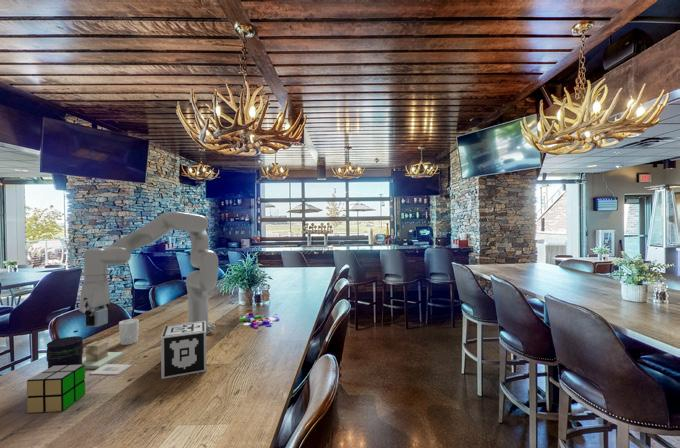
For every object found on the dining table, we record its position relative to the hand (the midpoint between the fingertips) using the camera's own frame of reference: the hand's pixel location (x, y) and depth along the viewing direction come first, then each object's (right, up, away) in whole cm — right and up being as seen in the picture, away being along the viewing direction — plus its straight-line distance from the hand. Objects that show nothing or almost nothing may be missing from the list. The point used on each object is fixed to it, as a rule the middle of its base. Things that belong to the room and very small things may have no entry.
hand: (96, 323), depth 131 cm
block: (+39, -16, -5) cm, 42 cm away
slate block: (0, -1, 0) cm, 1 cm away
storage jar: (+3, -16, -18) cm, 24 cm away
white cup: (0, -16, +21) cm, 27 cm away
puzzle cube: (+11, -16, -31) cm, 36 cm away
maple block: (0, -14, 0) cm, 14 cm away
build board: (0, -16, 0) cm, 16 cm away
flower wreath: (+54, -16, +53) cm, 77 cm away
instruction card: (+12, -16, -8) cm, 21 cm away
